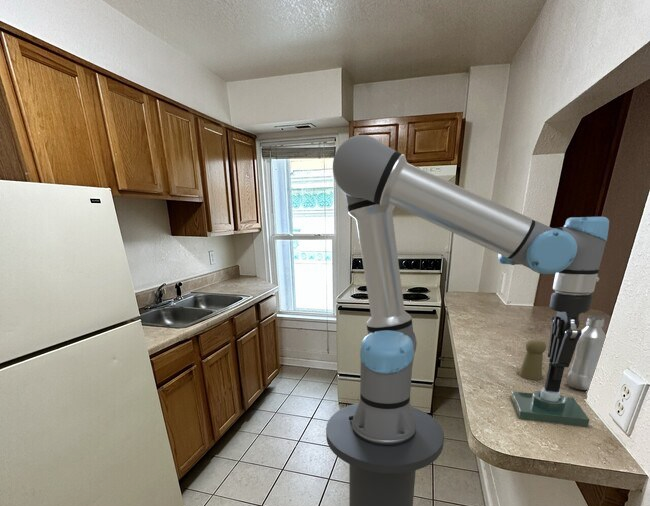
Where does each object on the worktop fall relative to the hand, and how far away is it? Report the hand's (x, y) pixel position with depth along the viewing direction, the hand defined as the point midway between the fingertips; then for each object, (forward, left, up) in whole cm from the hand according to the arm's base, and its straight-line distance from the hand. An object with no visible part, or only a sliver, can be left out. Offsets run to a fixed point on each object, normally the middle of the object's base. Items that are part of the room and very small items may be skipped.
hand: (551, 389), depth 85 cm
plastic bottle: (+12, +17, -6) cm, 22 cm away
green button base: (0, 0, -6) cm, 6 cm away
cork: (+1, +23, -6) cm, 24 cm away
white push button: (0, 0, -2) cm, 2 cm away
